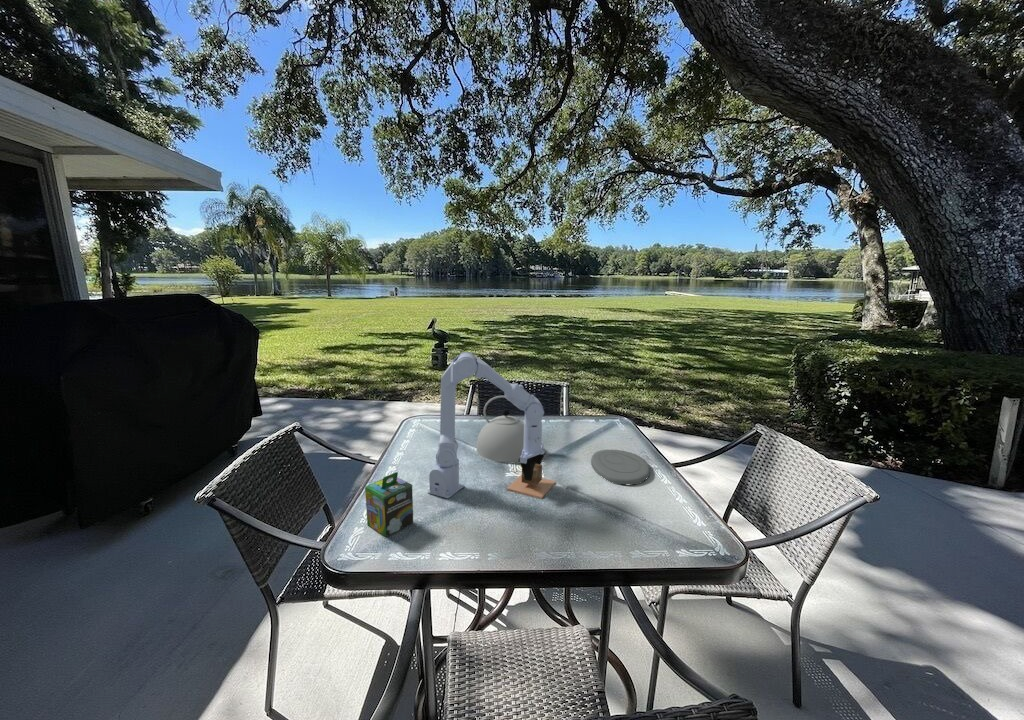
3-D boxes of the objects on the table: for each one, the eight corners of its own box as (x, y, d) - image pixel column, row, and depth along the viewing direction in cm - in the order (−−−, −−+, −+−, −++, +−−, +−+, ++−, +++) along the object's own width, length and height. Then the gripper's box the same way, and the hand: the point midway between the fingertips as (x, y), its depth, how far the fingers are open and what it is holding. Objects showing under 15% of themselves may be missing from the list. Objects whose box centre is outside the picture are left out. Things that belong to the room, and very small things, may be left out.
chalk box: (394, 511, 121) (392, 463, 118) (414, 523, 115) (413, 472, 113) (365, 525, 114) (363, 473, 111) (385, 538, 108) (383, 484, 106)
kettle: (539, 441, 177) (540, 389, 173) (541, 464, 155) (542, 404, 151) (480, 440, 178) (480, 387, 174) (473, 462, 156) (472, 402, 152)
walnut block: (535, 485, 134) (536, 470, 133) (521, 482, 136) (521, 467, 135) (541, 479, 138) (542, 464, 137) (527, 476, 140) (528, 461, 139)
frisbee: (601, 486, 139) (601, 479, 138) (585, 454, 165) (585, 448, 165) (662, 486, 139) (662, 479, 139) (636, 454, 166) (636, 448, 165)
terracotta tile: (541, 498, 129) (541, 497, 129) (506, 490, 135) (506, 488, 134) (555, 482, 140) (555, 481, 140) (522, 475, 145) (522, 473, 145)
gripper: (535, 445, 126) (534, 488, 129) (552, 431, 139) (551, 470, 141) (513, 441, 129) (513, 483, 132) (532, 428, 142) (532, 466, 144)
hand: (531, 476), depth 137 cm, fingers closed on walnut block, 5 cm apart
